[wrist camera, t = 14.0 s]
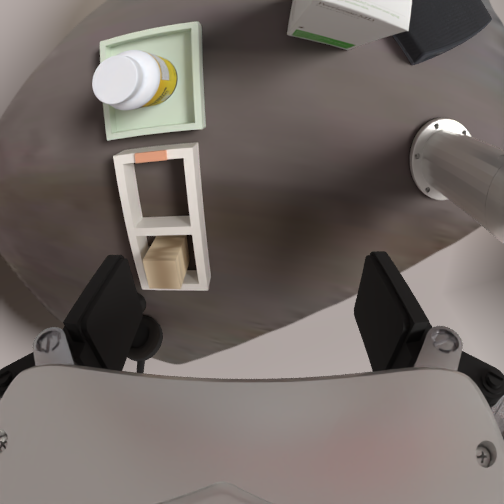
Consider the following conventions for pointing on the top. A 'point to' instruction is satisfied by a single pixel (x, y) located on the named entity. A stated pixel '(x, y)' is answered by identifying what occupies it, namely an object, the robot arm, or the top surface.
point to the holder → (167, 224)
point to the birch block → (167, 262)
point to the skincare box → (348, 20)
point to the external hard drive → (440, 27)
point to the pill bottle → (134, 80)
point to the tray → (187, 90)
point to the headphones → (145, 339)
